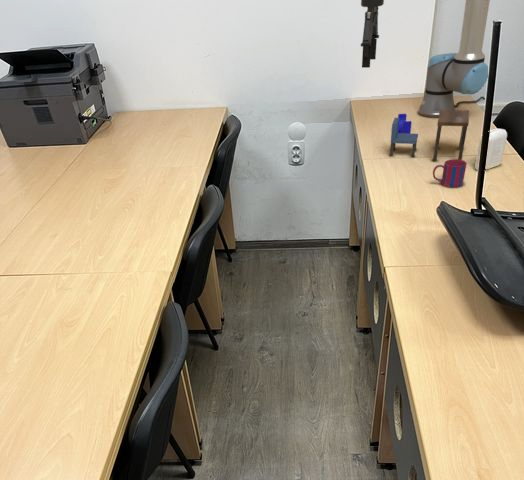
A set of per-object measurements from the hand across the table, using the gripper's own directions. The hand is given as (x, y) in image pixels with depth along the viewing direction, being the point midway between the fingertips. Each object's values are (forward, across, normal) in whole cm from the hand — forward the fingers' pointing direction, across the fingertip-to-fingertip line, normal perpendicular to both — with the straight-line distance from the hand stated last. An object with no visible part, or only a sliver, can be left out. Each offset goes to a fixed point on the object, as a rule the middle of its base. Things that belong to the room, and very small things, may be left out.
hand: (368, 63), depth 187 cm
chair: (+29, +8, +16) cm, 34 cm away
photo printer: (+29, +18, +45) cm, 57 cm away
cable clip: (+29, -16, +13) cm, 35 cm away
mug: (+29, +35, +32) cm, 56 cm away
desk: (+29, +8, +32) cm, 43 cm away
